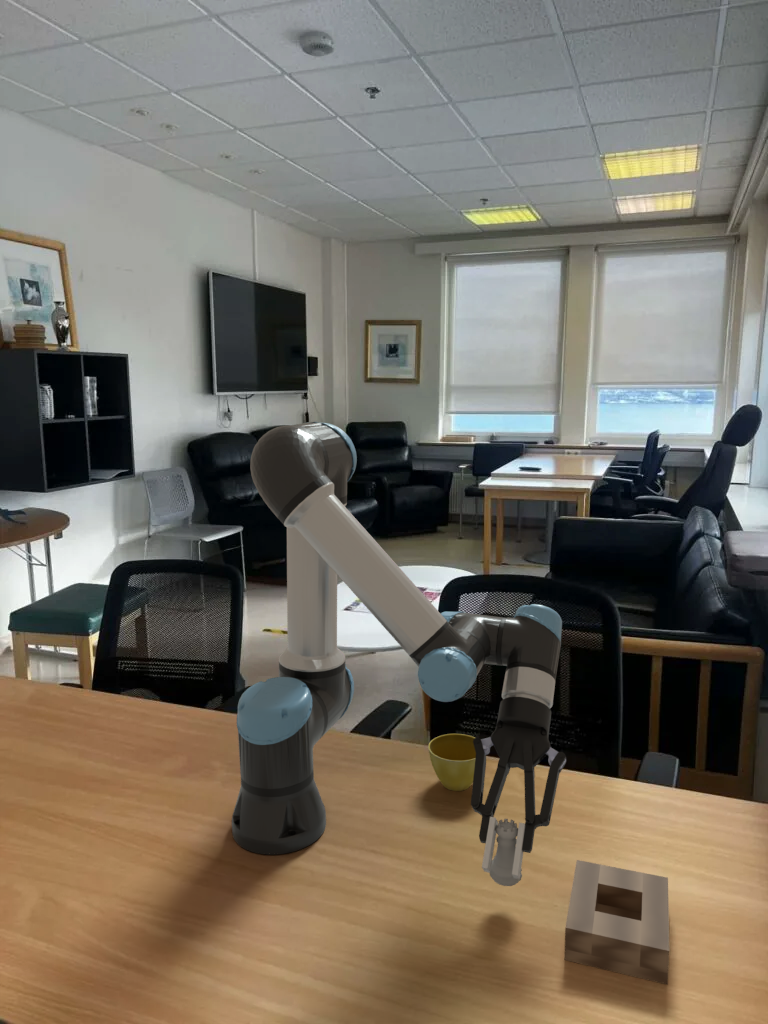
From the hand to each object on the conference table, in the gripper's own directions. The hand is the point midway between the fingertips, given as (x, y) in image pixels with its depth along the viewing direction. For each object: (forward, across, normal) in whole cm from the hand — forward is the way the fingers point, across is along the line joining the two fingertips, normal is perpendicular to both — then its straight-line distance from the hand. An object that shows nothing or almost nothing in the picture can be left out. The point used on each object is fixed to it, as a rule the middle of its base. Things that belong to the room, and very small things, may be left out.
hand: (500, 873), depth 98 cm
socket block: (+3, -15, -7) cm, 17 cm away
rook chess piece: (0, 0, -5) cm, 5 cm away
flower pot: (-17, +14, -28) cm, 36 cm away
